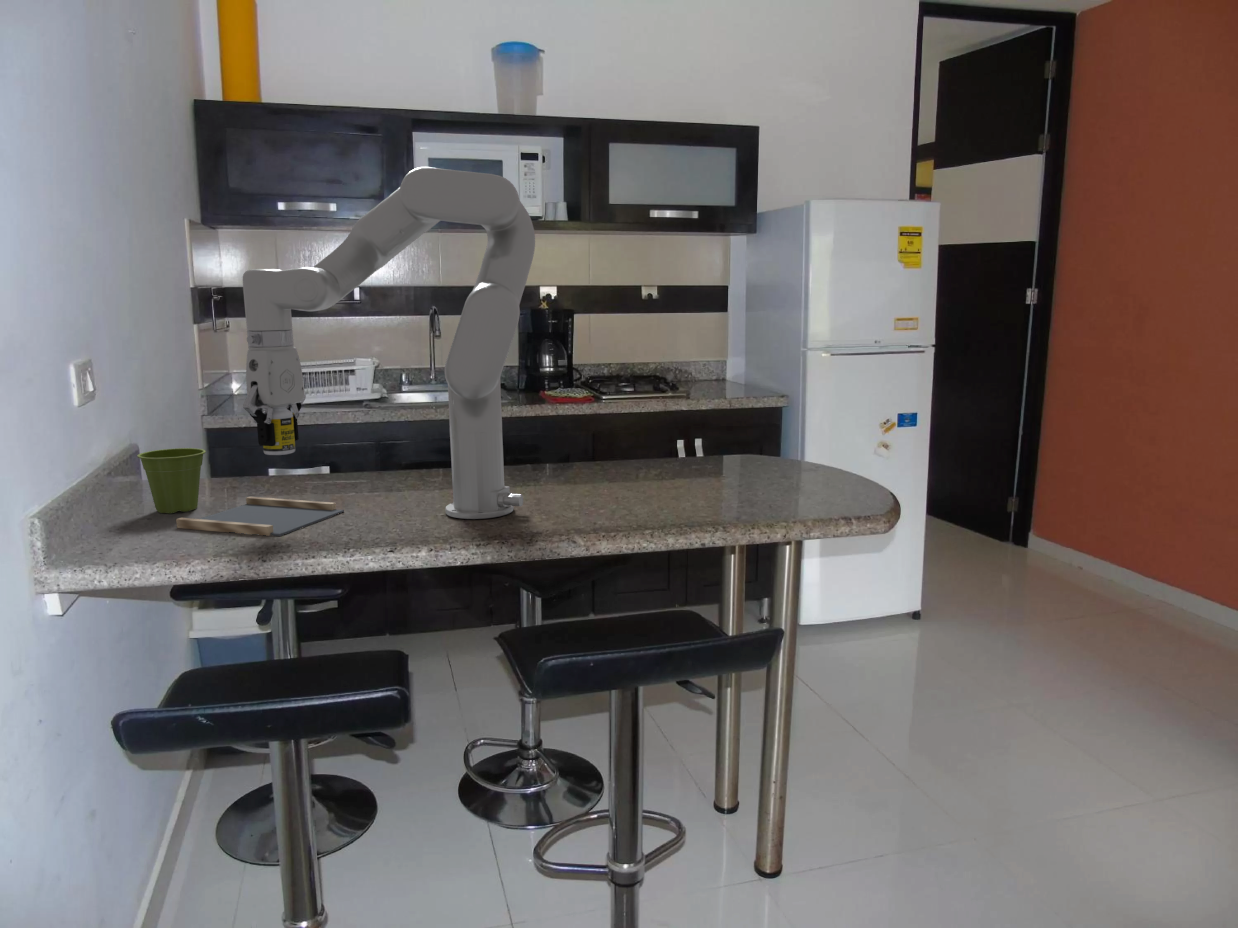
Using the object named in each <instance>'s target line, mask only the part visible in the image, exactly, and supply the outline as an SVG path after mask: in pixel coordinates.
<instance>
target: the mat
mask: <svg viewBox="0 0 1238 928" xmlns="http://www.w3.org/2000/svg"><path fill="white" fill-rule="evenodd" d="M342 512H343V513H345V509H338V508H336V509H335V510H321V509H308V508H295V507H281V506H268V505H254V504H247V503H246V504H242V505H239V506H235V507H232V508H229V509H226V510H222V511H220V512H219V511H218V512H216V513H213V514H210V515H207V516H204V517H200V518H199V519H204V520H216V521H228V522H240V523H252V524H264V525H273V532H272V533H270V536H272V535H273V537H274V536H275V537H282V536H285V535H287V534H290V533H293V532H294V531H298V530H301V529H303V528H306V527H309V526H311V525H314V524H317V523H318V522H321V520H322V521H324V520H328V519H329V518H332V517H335V516H337V515H336V514H338V513H340V514H343V513H342ZM334 515H335V516H334ZM338 515H339V514H338ZM331 516H332V517H331ZM313 523H314V524H313ZM302 527H303V528H302ZM300 528H301V529H300ZM292 531H293V532H292ZM284 534H285V535H284Z"/></svg>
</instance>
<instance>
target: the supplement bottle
mask: <svg viewBox="0 0 1238 928" xmlns="http://www.w3.org/2000/svg"><path fill="white" fill-rule="evenodd" d="M264 405H267V404H264ZM288 407H289V406H288V405H284V406H278V407H273V411H272V418H271V423H274V430H275V442H276V444H275V446H262V447H263V448H262V451H263V453H264V454H265V455H267V456H282V455H283V456H284V455H285V456H286V455H291V454H293V453H295V452H296V441H295V437H294V423H293V413H292V412H291V411H290V410H287V408H288ZM262 412H263V413H264V414H265V410H264V411H262Z"/></svg>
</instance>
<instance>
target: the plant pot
mask: <svg viewBox="0 0 1238 928" xmlns="http://www.w3.org/2000/svg"><path fill="white" fill-rule="evenodd" d="M206 453H207V452H206V450H205V449H203V448H197V447H196V448H195V447H184V448H183V447H180V448H179V447H178V448H165V449H164V448H163V449H157V450H155V449H154V450H151V451H145V452H140V453H138V454H137V455H136V456H137V458H138V459H139V460H140V461H141V464H142V469H143V470H144V472H145V474H146V478H147V481H148V485H149V489H150V492H151V496H152V500H153V502H154V503H153V504H154V507H155V510H156V512H158V513H160V514H174V513H177V512H183V513H187V512H190V511H194V510H196V509H197V508H198V505H199V493H200V492H199V491H200V482H201V467H202V465H203V460H204V459H203V458H204V455H205V454H206Z"/></svg>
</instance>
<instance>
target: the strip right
mask: <svg viewBox="0 0 1238 928" xmlns="http://www.w3.org/2000/svg"><path fill="white" fill-rule="evenodd" d="M245 501H246V504H254V505H268V506H281V507H295V508H308V509H321V510H335V509H337V503H336V502H331V501H330V502H329V501H317V500H304V499H303V500H302V499H301V500H300V499H289V498H287V499H286V498H273V497H259V496H248V497H246V498H245Z"/></svg>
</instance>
